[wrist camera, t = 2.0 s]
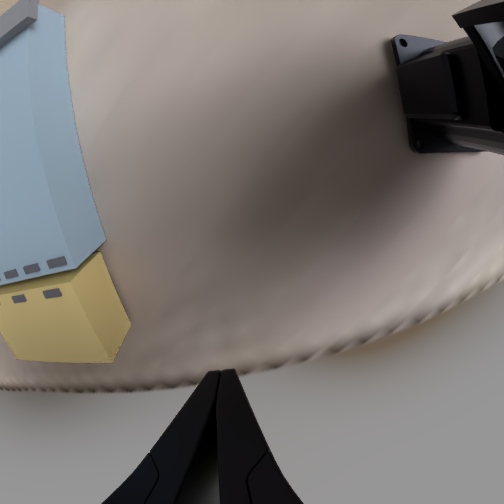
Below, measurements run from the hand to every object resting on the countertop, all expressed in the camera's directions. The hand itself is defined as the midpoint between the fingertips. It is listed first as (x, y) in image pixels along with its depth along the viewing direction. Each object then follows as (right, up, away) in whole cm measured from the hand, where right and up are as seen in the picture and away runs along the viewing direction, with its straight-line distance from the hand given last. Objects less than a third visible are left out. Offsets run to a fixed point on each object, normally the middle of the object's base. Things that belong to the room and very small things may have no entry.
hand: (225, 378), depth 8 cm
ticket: (-13, +10, +4) cm, 17 cm away
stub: (-12, +1, +8) cm, 14 cm away
